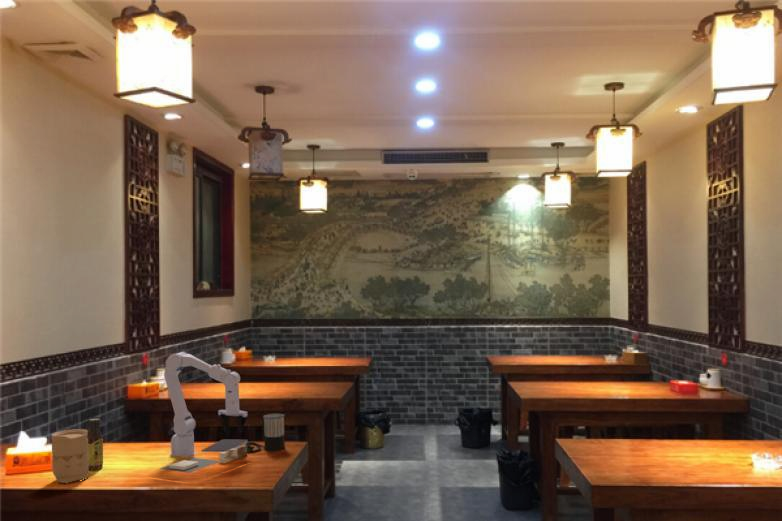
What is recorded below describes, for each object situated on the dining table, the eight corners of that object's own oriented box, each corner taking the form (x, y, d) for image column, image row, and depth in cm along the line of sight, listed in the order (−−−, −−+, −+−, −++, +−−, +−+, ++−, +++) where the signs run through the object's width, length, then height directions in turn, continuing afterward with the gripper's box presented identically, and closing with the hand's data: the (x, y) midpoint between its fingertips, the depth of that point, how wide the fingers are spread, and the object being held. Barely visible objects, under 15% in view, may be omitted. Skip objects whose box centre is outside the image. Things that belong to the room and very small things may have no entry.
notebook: (222, 442, 324) (201, 453, 303) (222, 439, 324) (201, 450, 303) (248, 442, 321) (228, 454, 300) (248, 439, 321) (228, 450, 300)
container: (95, 477, 269) (94, 430, 269) (65, 486, 258) (64, 437, 259) (75, 473, 275) (74, 428, 276) (45, 482, 264) (44, 434, 265)
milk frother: (290, 448, 305) (288, 414, 306) (264, 456, 292) (262, 420, 293) (266, 444, 313) (265, 411, 314) (240, 452, 300) (239, 418, 301)
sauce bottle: (97, 470, 278) (95, 421, 279) (83, 470, 280) (82, 421, 280) (106, 466, 285) (105, 417, 285) (93, 466, 286) (92, 417, 287)
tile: (183, 460, 282) (169, 465, 275) (198, 461, 278) (184, 466, 271) (184, 463, 282) (169, 468, 275) (198, 465, 278) (184, 470, 271)
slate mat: (159, 470, 276) (159, 468, 276) (192, 459, 292) (192, 457, 292) (189, 474, 268) (189, 472, 268) (221, 462, 284) (221, 461, 284)
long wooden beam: (242, 455, 294) (242, 445, 294) (247, 456, 293) (246, 445, 293) (219, 464, 282) (219, 452, 282) (224, 464, 281) (223, 453, 281)
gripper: (212, 401, 297) (213, 433, 297) (239, 403, 290) (240, 435, 290) (224, 398, 303) (225, 430, 303) (250, 400, 297) (251, 432, 296)
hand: (233, 432), depth 297 cm, fingers open, 7 cm apart
